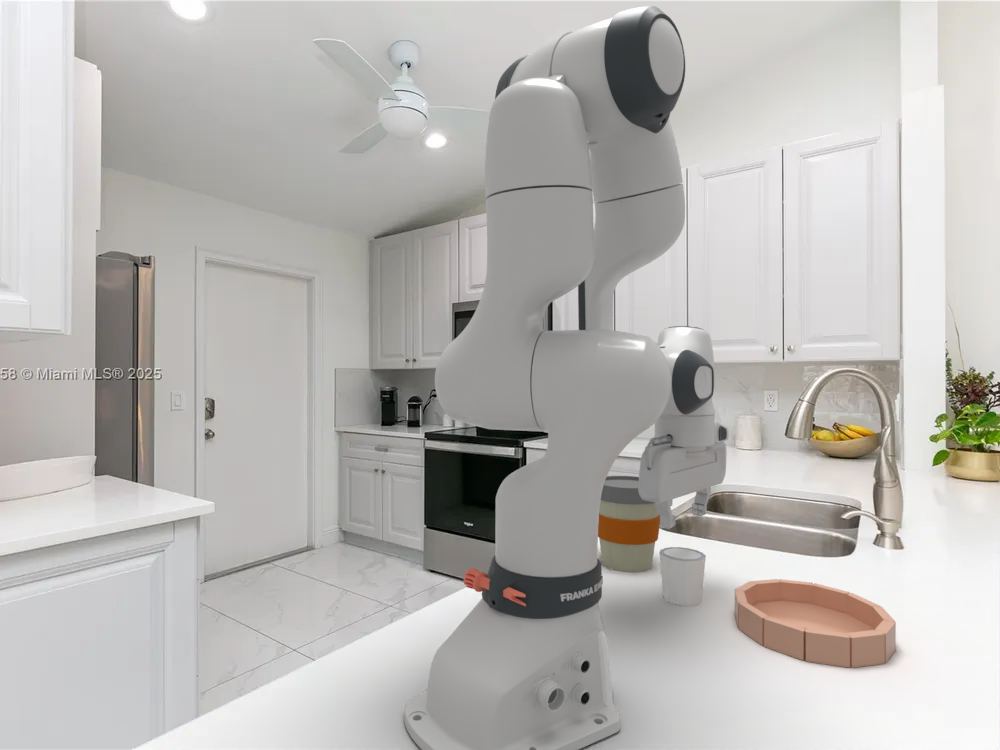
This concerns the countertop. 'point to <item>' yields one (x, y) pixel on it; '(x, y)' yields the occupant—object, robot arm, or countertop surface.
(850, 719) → the countertop surface
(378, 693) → the countertop surface
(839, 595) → the terracotta round tray
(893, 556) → the countertop surface
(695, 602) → the white tapered cup
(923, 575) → the countertop surface
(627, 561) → the reusable coffee cup
